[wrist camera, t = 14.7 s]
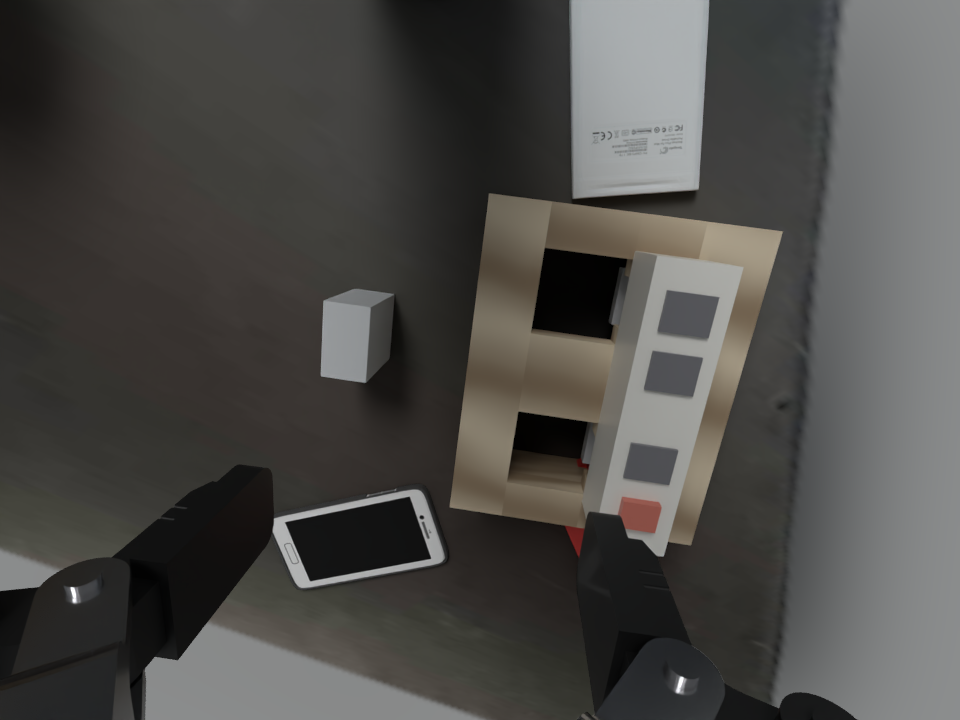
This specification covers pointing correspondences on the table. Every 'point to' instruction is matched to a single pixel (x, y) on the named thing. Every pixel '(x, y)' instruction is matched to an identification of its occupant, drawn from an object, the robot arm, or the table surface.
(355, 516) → the cell phone
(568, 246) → the wooden block with holes
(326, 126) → the table surface
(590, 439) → the power strip
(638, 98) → the external hard drive
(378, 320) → the block
